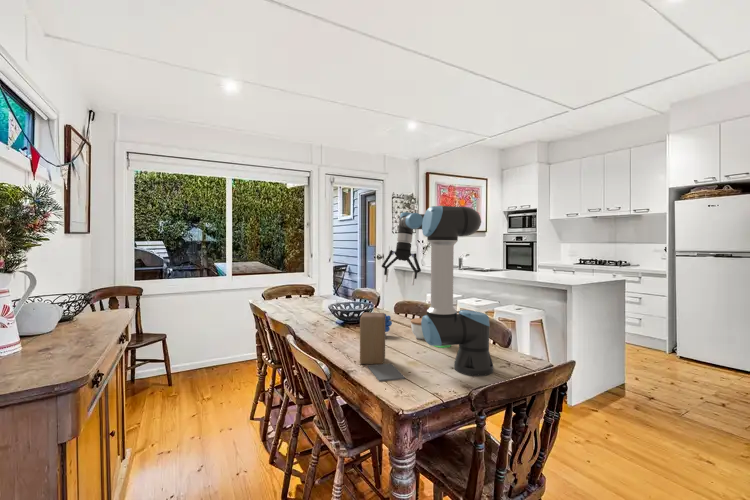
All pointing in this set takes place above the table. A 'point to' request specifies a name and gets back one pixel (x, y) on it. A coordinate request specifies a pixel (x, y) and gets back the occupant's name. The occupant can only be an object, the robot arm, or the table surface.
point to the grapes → (387, 323)
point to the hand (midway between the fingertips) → (399, 283)
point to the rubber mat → (385, 372)
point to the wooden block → (372, 338)
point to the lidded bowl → (417, 328)
